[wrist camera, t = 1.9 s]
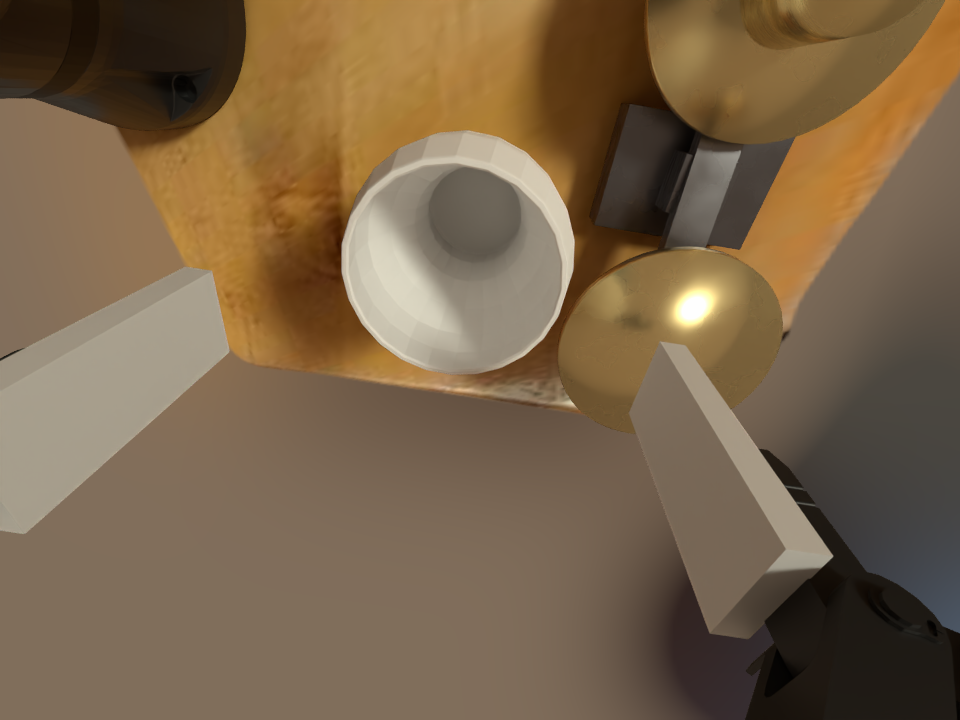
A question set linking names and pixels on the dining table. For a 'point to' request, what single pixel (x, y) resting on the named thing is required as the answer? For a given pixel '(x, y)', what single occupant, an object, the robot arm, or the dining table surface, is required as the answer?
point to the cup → (458, 253)
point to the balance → (715, 182)
